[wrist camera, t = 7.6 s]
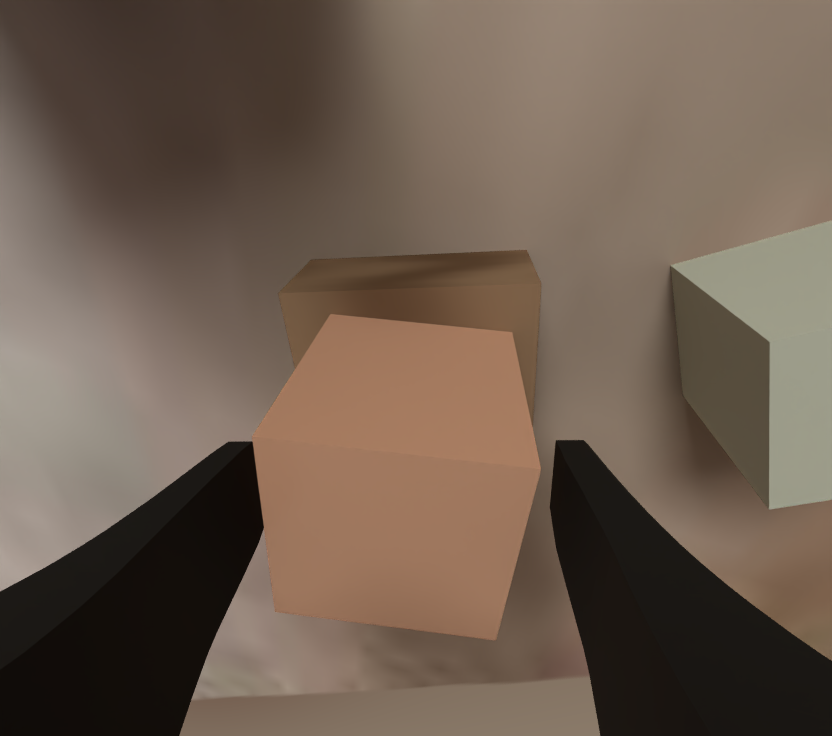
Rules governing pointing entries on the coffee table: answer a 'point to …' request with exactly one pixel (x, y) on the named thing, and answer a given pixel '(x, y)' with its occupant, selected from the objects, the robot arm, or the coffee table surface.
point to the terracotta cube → (398, 476)
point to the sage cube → (763, 359)
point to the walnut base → (422, 297)
